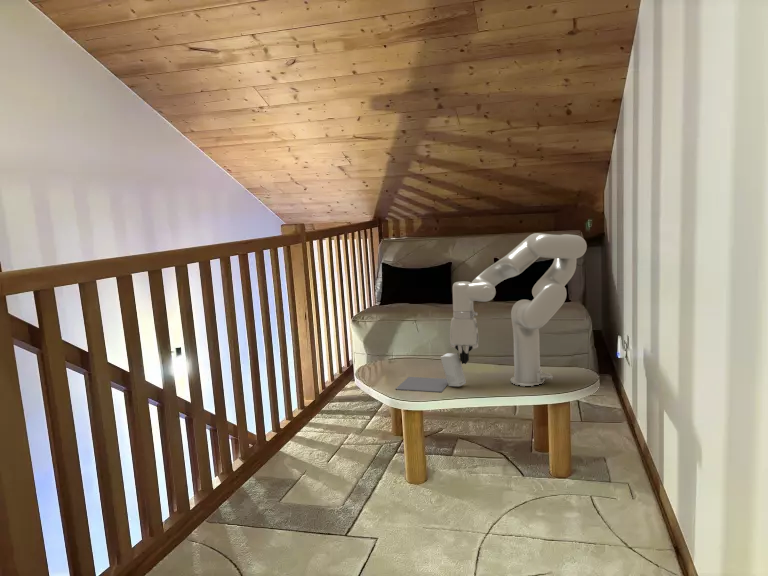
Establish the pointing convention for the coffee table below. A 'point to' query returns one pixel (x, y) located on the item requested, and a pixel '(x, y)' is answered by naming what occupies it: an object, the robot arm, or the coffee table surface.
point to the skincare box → (453, 369)
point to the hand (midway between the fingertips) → (464, 362)
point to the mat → (423, 384)
